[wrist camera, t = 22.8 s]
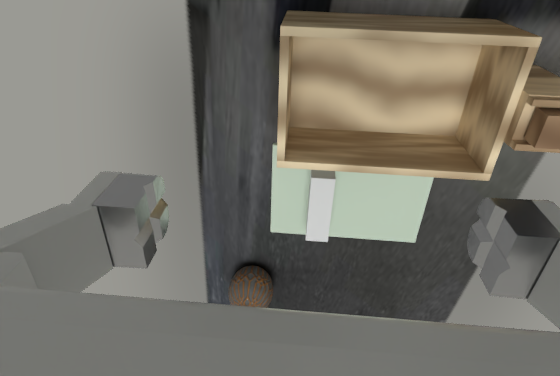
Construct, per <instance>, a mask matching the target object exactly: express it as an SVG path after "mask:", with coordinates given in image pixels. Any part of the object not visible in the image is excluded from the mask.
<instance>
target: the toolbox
mask: <svg viewBox="0 0 560 376" xmlns="http://www.w3.org/2000/svg"><path fill="white" fill-rule="evenodd" d="M541 40H542V37H540V36H537V35H535V34H532V33H529V32H527V31H524V30H522V29H519V28H516V27H514V26H511V25H509V24H506V23H503V22H501V21H498V20H496V19H479V18H455V17H431V16H407V15H383V14H359V13H335V12H311V11H287V13H286V15H285V17H284V19H283V22H282V24H281V26H280V63H279V100H278V137H277V168H293V169H309V170H325V171H341V172H357V173H373V174H389V175H405V176H421V177H437V178H453V179H469V180H485V181H489V179H490V176H491V174H492V171H493V168H494V166H495V163H496V160H497V158H498V155H499V152H500V150H501V147H502V144H503V142H505V143H506V144H507V145H508V146H511V147H512V148H513V149H514V150H520V151H537V152H555V153H560V150H559V149H542V148H534V147H533V146H532V145H531V144H529V143H528V142H527V141H526V140H525V139H524V137H525V135H526V132H527V130H528V127H529V125H530V122H531V120H532V117H533V115H534V112H535V110H536V107H540V108H559V109H560V77H558V76H557V75H555V74H553V73H551V72H549V71H547V70H545V69H543V68H541V67H539V66H537V65H532V64H533V61H534V59H535V56H536V53H537V51H538V48H539V45H540V43H541Z"/></svg>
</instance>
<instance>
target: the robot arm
mask: <svg viewBox="0 0 560 376" xmlns="http://www.w3.org/2000/svg"><path fill="white" fill-rule="evenodd" d="M164 192H165V185H164V180H163V179H162V178H161V176H157V175H144V174H132V173H122V172H106V171H105V172H100V173H99V174H98V175H97V176H96V177H95V178H94V179H93V181H91V182H90V183H89V184H88V186H86V187H85V188H84V189H83V190H82V192H80V194H79V195H78V196H77V197H76V198H75V199H74V200H73V201H72V202H71V203H70V204H61V205H59V206H56V207H54V208H51V209H49V210H46V211H43V212H41V213H38V214H36V215H33V216H31V217H28V218H26V219H23V220H21V221H18V222H16V223H13V224H10V225H8V226H5V227H3V228H0V376H560V332H550V331H538V330H525V329H513V328H501V327H489V326H477V325H465V324H452V323H441V322H429V321H417V320H405V319H393V318H381V317H368V316H356V315H344V314H332V313H320V312H308V311H296V310H284V309H272V308H260V307H248V306H236V305H224V304H212V303H200V302H188V301H176V300H164V299H152V298H139V297H127V296H116V295H104V294H103V295H102V294H92V293H80V292H81V291H83V290H84V289H85V288H87V287H88V286H90V285H91V284H92V283H94V282H95V281H97V280H98V279H99V278H101V277H102V276H104V275H105V274H106V273H108V272H109V271H110V270H112V269H113V267H129V268H147V267H148V265H149V264H150V262H151V260H152V258H153V256H154V254H155V253H156V244H155V243H157V242H158V241H160V240H162V239H163V237H164V235H165V233H166V231H167V227H168V222H169V211H168V205H167V204H166V203H165V201H164V200H163V199H162V198H161V197H162V195H163V194H164ZM477 213H478V215H479V218H480V220H479V221H478V222H476V223H475V224H474V225H472V226H471V229H470V232H469V235H468V251H469V255H470V257H471V260H472V262H473V263H475V264H476V265H477V266H479V267H480V268H482V270H481V272H480V277H481V279H482V281H483V283H484V285H485V287H486V289H487V291H488V293H489V295H490V296H499V297H509V298H518V299H527V302H528V303H530V304H531V305H532V306H533V307H535V308H536V309H537V310H538V311H539V312H540V313H541V314H543V315H544V316H545V317H546V318H547V319H548V320H550V321H551V322H552V323H553V324H554V325H555V326H557V327H558V328H559V329H560V208H559V207H558V206H557V205H556V204H555V203H554V202H551V201H549V200H523V199H499V198H484V199H483V200H482V202H481V203H480V205H479V207H478V210H477Z"/></svg>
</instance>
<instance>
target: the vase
mask: <svg viewBox="0 0 560 376" xmlns="http://www.w3.org/2000/svg"><path fill="white" fill-rule="evenodd" d="M272 295H273V284H272V280H271V277H270V275H269V274H268V273H267V272H266V271H265V270H264V269H263V268H261V267H258V266H253V265H252V266H246V267H243V268H241V269H240V270H238V271H237V272H236V273H235V275H234V276H233V278H232V280H231V282H230V286H229V301H230V304H231V305H236V306H248V307H260V308H267V307H268V306H269V304H270V302H271V299H272Z"/></svg>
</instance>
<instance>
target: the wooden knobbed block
mask: <svg viewBox="0 0 560 376" xmlns="http://www.w3.org/2000/svg"><path fill="white" fill-rule="evenodd" d="M524 139H525V140H526V141H527V142H528V143H529V144H531V145H532V146H533V147H534V148H542V149H559V150H560V109H559V108H540V107H536V110H535V112H534V115H533V117H532V120H531V122H530V125H529V127H528V130H527V132H526V135H525V137H524Z"/></svg>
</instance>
